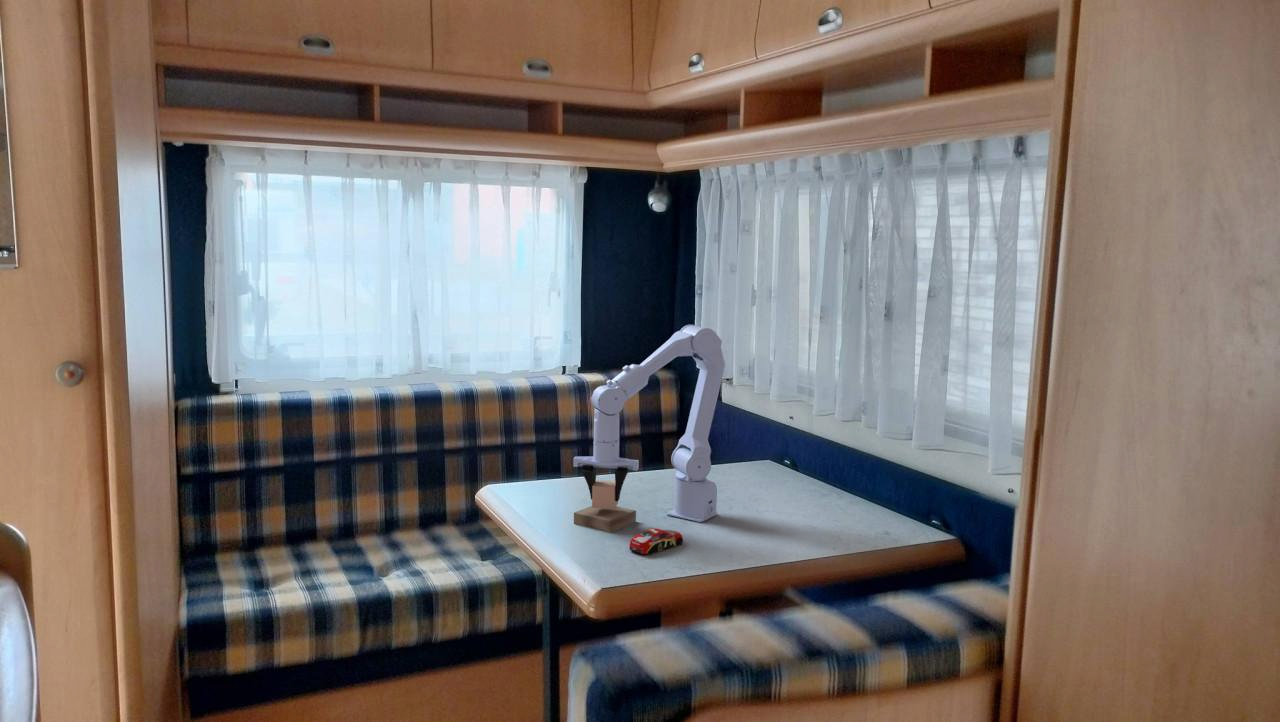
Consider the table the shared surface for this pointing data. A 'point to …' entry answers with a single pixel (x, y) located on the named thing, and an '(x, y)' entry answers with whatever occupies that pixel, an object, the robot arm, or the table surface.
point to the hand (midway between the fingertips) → (605, 499)
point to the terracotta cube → (604, 495)
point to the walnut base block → (605, 518)
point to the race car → (655, 541)
